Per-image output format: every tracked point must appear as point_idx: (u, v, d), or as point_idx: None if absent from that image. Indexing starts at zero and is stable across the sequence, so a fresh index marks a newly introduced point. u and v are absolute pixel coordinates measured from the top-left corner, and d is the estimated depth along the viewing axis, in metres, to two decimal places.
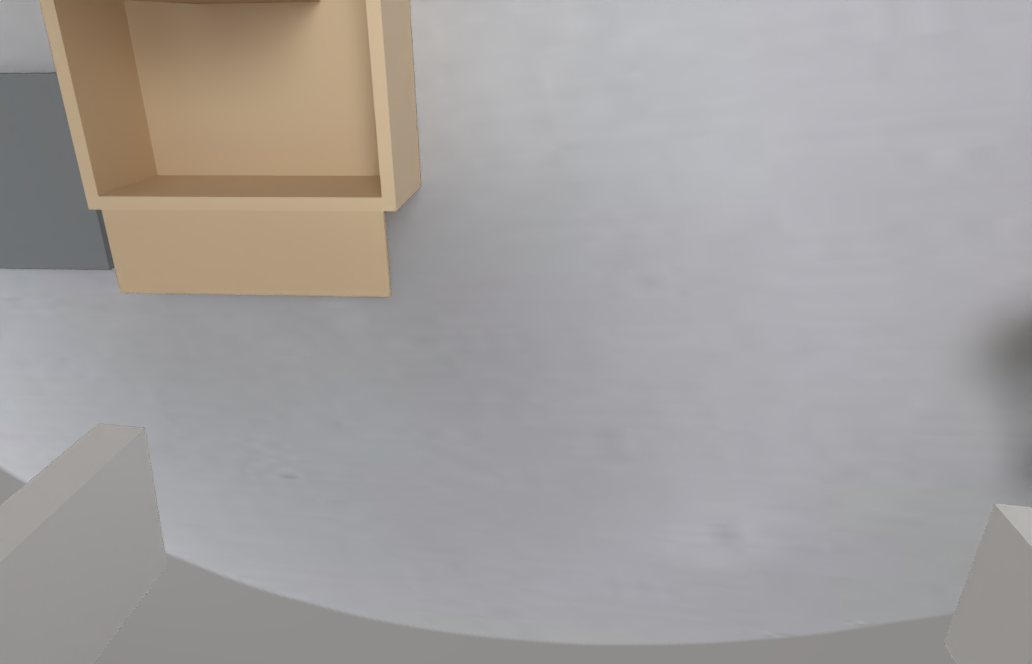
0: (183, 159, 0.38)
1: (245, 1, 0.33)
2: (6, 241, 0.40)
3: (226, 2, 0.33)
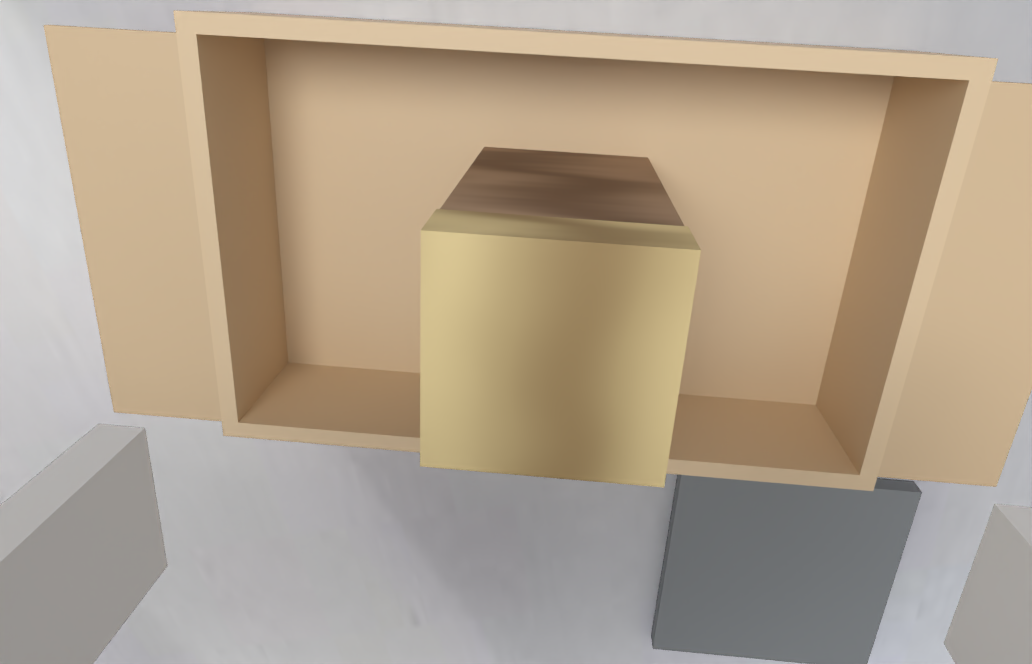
0: (803, 370, 0.30)
1: None
2: (854, 590, 0.33)
3: None
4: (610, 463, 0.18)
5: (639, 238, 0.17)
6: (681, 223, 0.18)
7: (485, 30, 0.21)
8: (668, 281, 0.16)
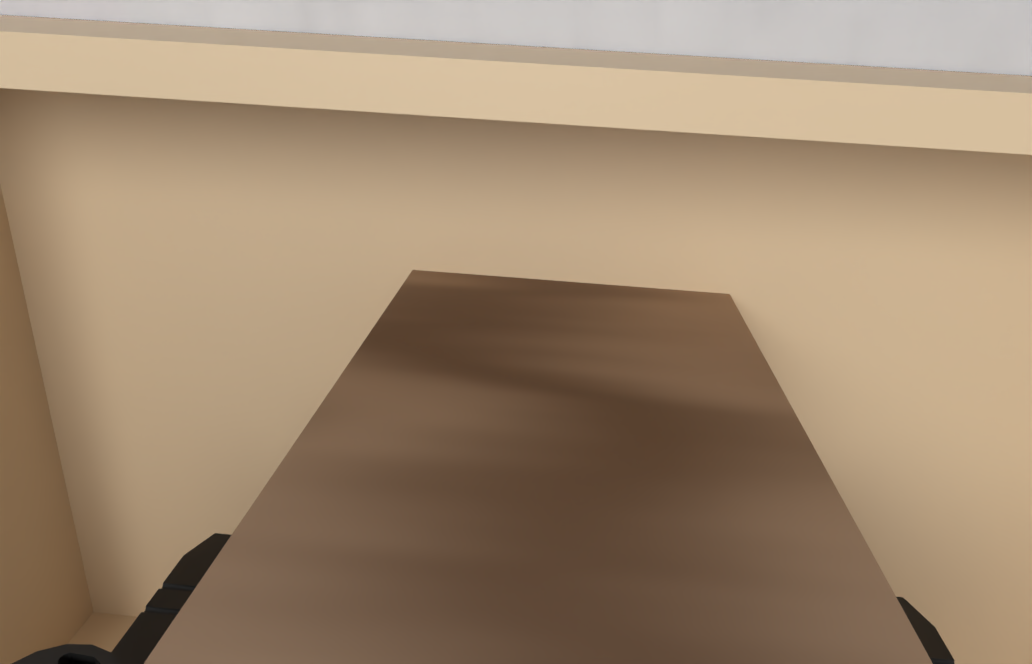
0: (996, 654, 0.17)
1: None
2: None
3: None
4: None
5: None
6: None
7: (356, 57, 0.08)
8: None
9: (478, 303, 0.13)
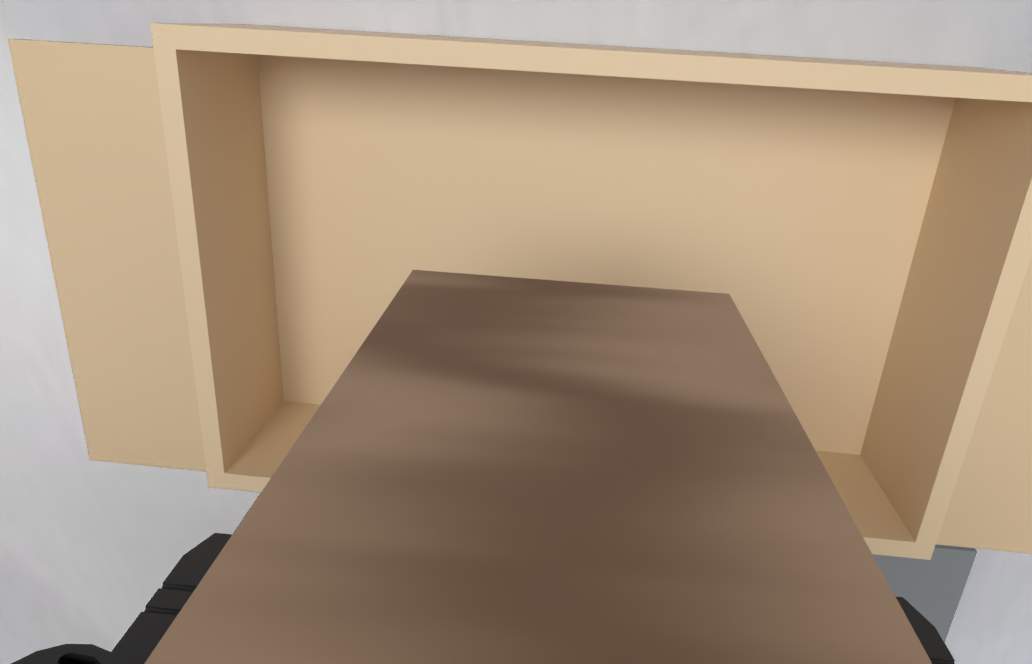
0: (847, 417, 0.27)
1: None
2: None
3: None
4: None
5: None
6: None
7: (499, 45, 0.19)
8: None
9: (478, 303, 0.13)
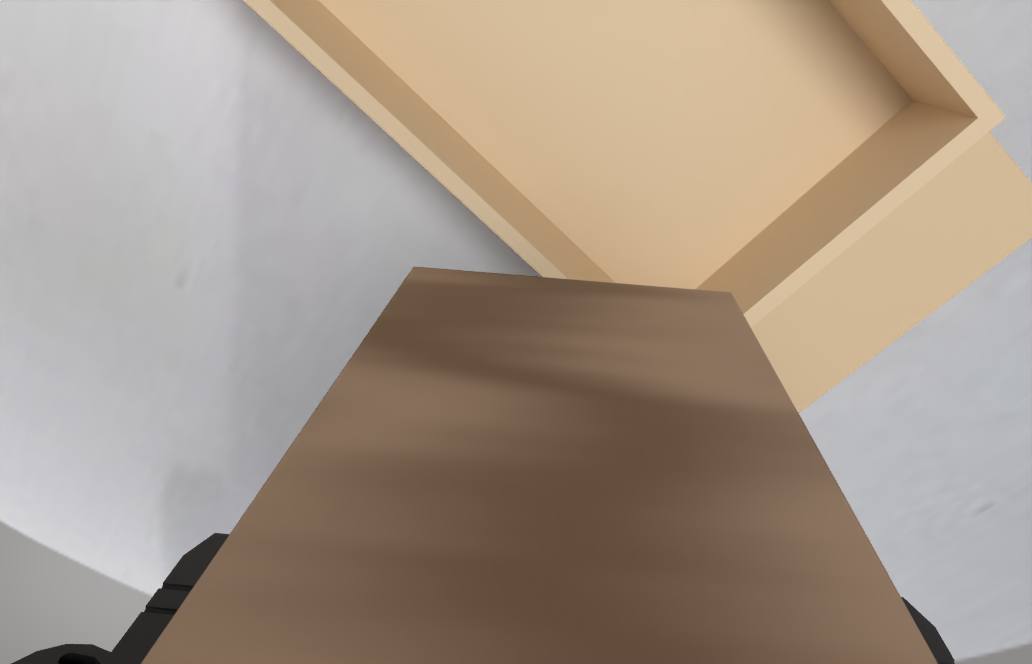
0: None
1: None
2: None
3: None
4: None
5: None
6: None
7: None
8: None
9: (479, 300, 0.13)
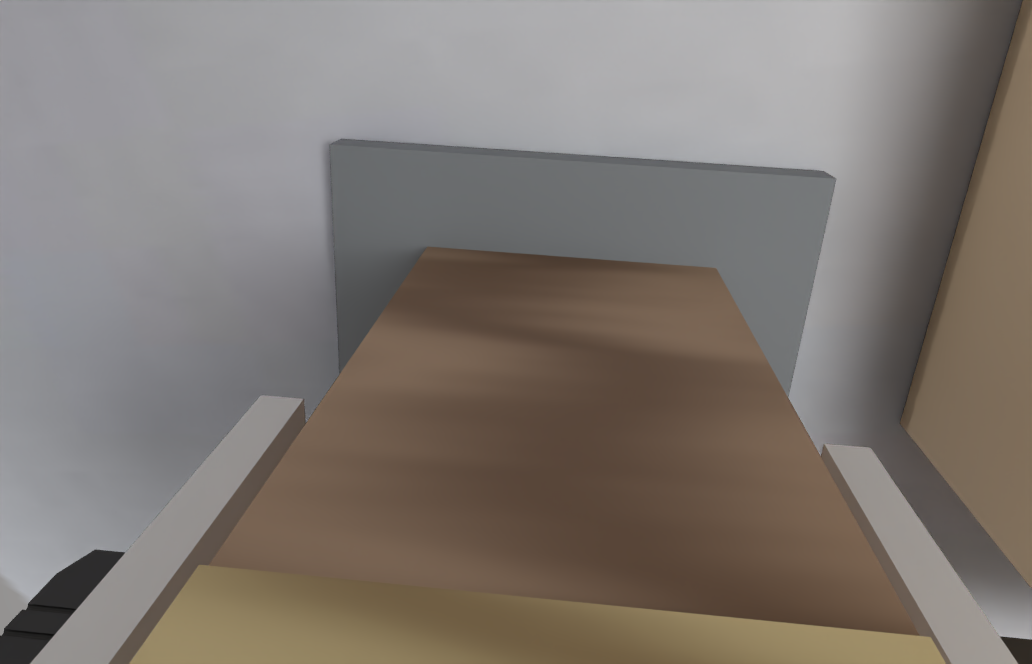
0: None
1: None
2: None
3: None
4: None
5: None
6: (896, 601, 0.06)
7: None
8: None
9: (488, 274, 0.14)
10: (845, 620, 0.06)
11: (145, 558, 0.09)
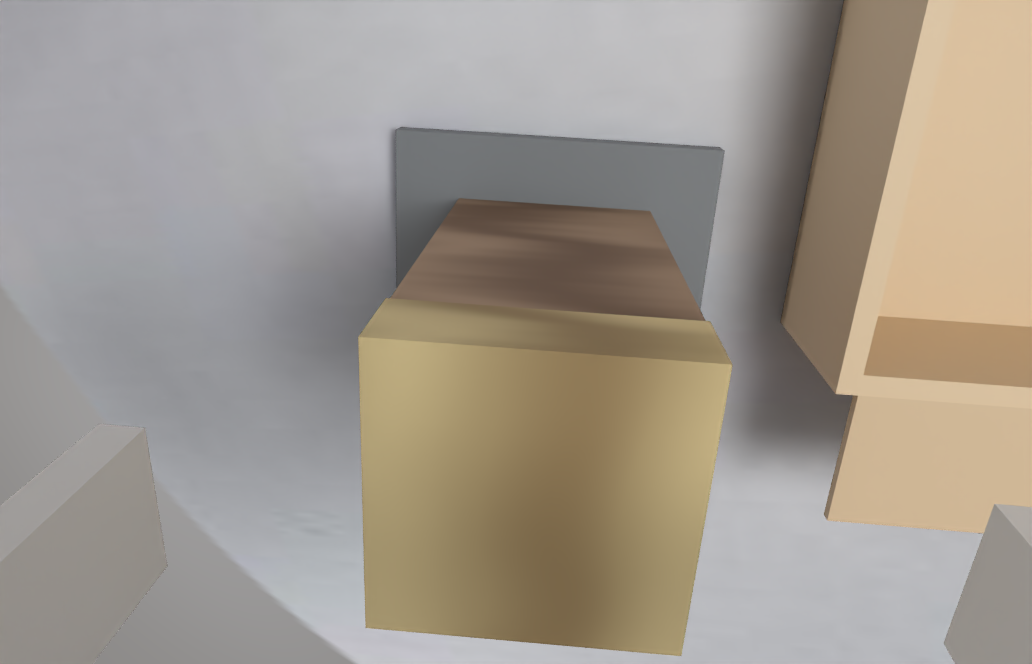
0: None
1: None
2: None
3: None
4: (612, 627, 0.14)
5: (649, 344, 0.13)
6: (700, 315, 0.14)
7: None
8: (688, 404, 0.12)
9: (501, 211, 0.22)
10: (675, 318, 0.14)
11: None
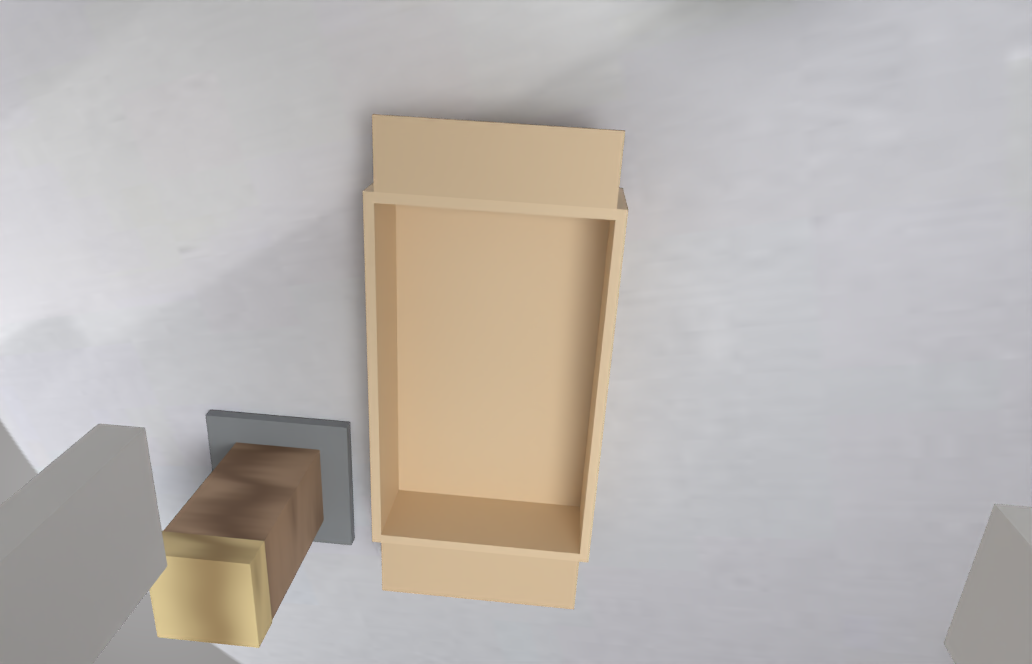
0: (419, 482, 0.53)
1: (311, 499, 0.51)
2: None
3: (316, 507, 0.52)
4: (235, 638, 0.43)
5: (232, 554, 0.42)
6: (265, 536, 0.43)
7: (609, 365, 0.43)
8: (240, 574, 0.41)
9: (247, 455, 0.51)
10: (254, 538, 0.43)
11: None
